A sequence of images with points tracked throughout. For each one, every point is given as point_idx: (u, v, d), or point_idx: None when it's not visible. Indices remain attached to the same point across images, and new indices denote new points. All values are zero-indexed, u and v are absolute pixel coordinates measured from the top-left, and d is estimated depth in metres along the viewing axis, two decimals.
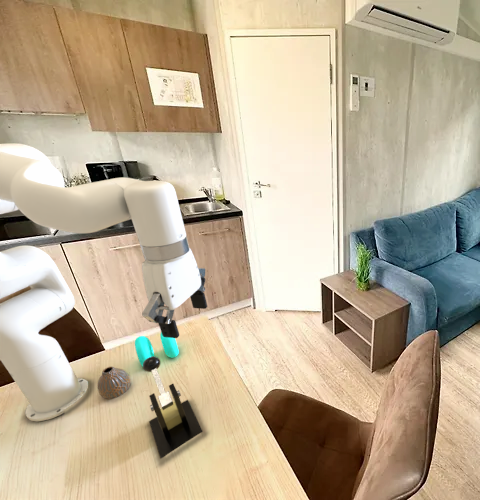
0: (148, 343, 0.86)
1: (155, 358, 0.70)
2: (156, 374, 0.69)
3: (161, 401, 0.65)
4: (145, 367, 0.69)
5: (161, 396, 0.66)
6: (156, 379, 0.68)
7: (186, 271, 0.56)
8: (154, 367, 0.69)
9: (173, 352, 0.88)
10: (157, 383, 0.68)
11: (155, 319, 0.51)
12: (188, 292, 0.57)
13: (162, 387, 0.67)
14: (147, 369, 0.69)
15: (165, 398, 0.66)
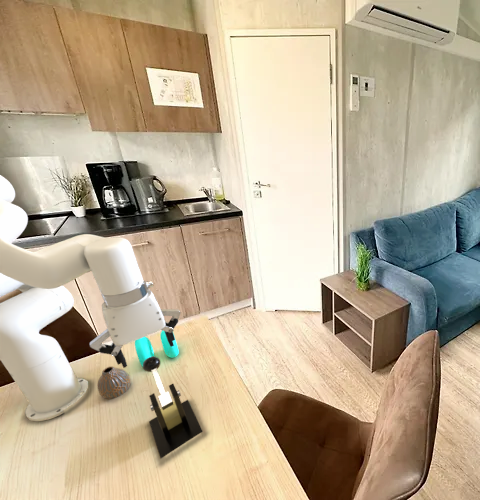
0: (148, 343, 0.86)
1: (155, 358, 0.70)
2: (156, 374, 0.69)
3: (161, 401, 0.65)
4: (145, 367, 0.69)
5: (161, 396, 0.66)
6: (156, 379, 0.68)
7: (137, 316, 0.62)
8: (154, 367, 0.69)
9: (173, 352, 0.88)
10: (157, 383, 0.68)
11: (99, 350, 0.61)
12: (140, 333, 0.64)
13: (162, 387, 0.67)
14: (147, 369, 0.69)
15: (165, 398, 0.66)
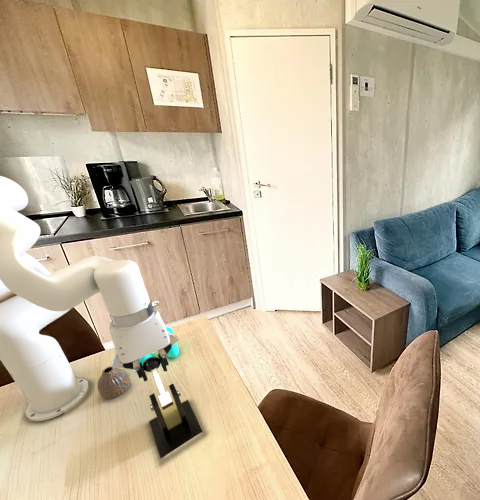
0: None
1: (155, 358, 0.70)
2: (156, 374, 0.69)
3: (161, 401, 0.65)
4: (145, 367, 0.69)
5: (161, 396, 0.66)
6: (156, 379, 0.68)
7: (144, 335, 0.65)
8: (154, 367, 0.69)
9: (173, 352, 0.88)
10: (157, 383, 0.68)
11: (123, 367, 0.65)
12: (146, 351, 0.66)
13: (162, 387, 0.67)
14: (147, 369, 0.69)
15: (165, 398, 0.66)
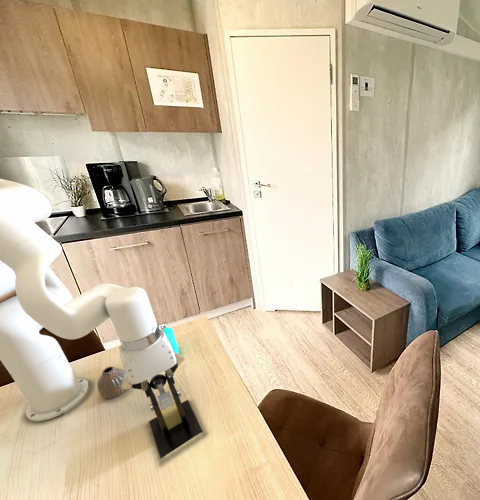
0: None
1: (161, 374, 0.74)
2: (160, 385, 0.71)
3: (160, 398, 0.65)
4: (151, 382, 0.72)
5: (161, 395, 0.66)
6: (159, 388, 0.70)
7: (151, 357, 0.68)
8: (158, 380, 0.72)
9: None
10: (160, 390, 0.69)
11: (132, 387, 0.69)
12: (154, 372, 0.70)
13: (164, 391, 0.69)
14: (153, 383, 0.72)
15: (164, 395, 0.66)
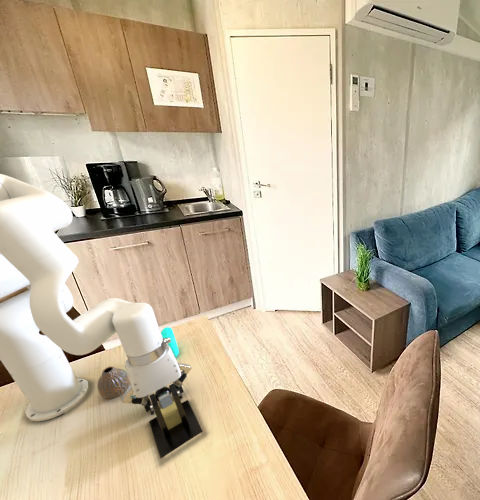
0: None
1: (165, 386, 0.75)
2: (163, 393, 0.72)
3: (160, 397, 0.66)
4: (155, 393, 0.73)
5: (161, 396, 0.67)
6: (162, 395, 0.71)
7: (157, 371, 0.69)
8: (162, 390, 0.73)
9: (173, 352, 0.88)
10: None
11: (131, 402, 0.69)
12: (159, 385, 0.71)
13: None
14: (157, 394, 0.73)
15: (164, 395, 0.66)
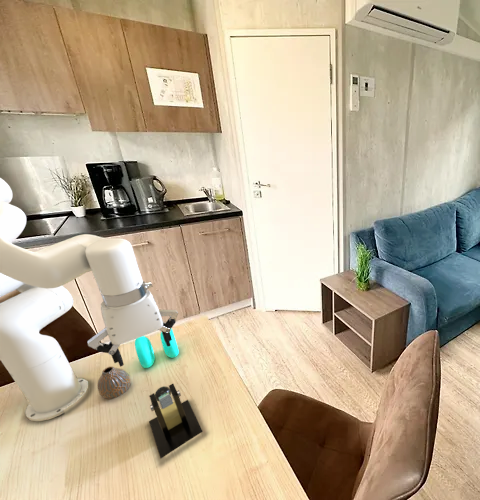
0: (148, 343, 0.86)
1: (165, 386, 0.75)
2: (163, 393, 0.72)
3: (160, 397, 0.66)
4: (155, 393, 0.73)
5: (161, 396, 0.67)
6: (162, 395, 0.71)
7: (136, 316, 0.63)
8: (162, 390, 0.73)
9: (173, 352, 0.88)
10: None
11: (97, 348, 0.62)
12: (138, 333, 0.65)
13: None
14: (157, 394, 0.73)
15: (164, 395, 0.66)
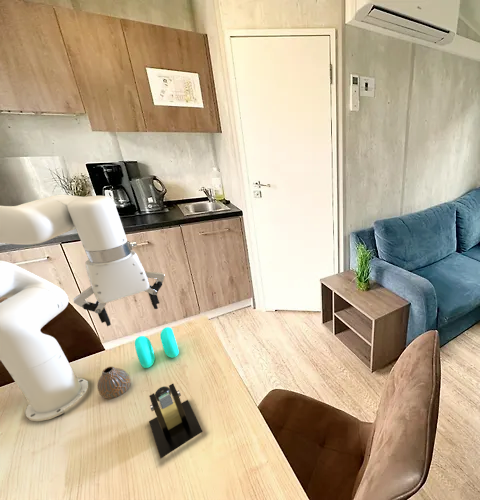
0: (148, 343, 0.86)
1: (165, 386, 0.75)
2: (163, 393, 0.72)
3: (160, 397, 0.66)
4: (155, 393, 0.73)
5: (161, 396, 0.67)
6: (162, 395, 0.71)
7: (121, 275, 0.64)
8: (162, 390, 0.73)
9: (173, 352, 0.88)
10: None
11: (83, 306, 0.63)
12: (124, 292, 0.66)
13: None
14: (157, 394, 0.73)
15: (164, 395, 0.66)
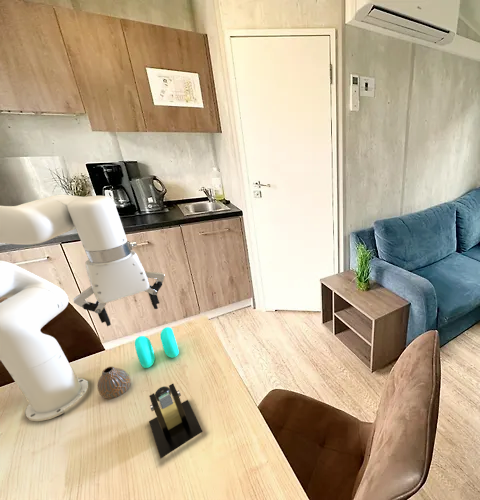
0: (148, 343, 0.86)
1: (165, 386, 0.75)
2: (163, 393, 0.72)
3: (160, 397, 0.66)
4: (155, 393, 0.73)
5: (161, 396, 0.67)
6: (162, 395, 0.71)
7: (121, 275, 0.64)
8: (162, 390, 0.73)
9: (173, 352, 0.88)
10: None
11: (83, 306, 0.63)
12: (124, 292, 0.66)
13: None
14: (157, 394, 0.73)
15: (164, 395, 0.66)
